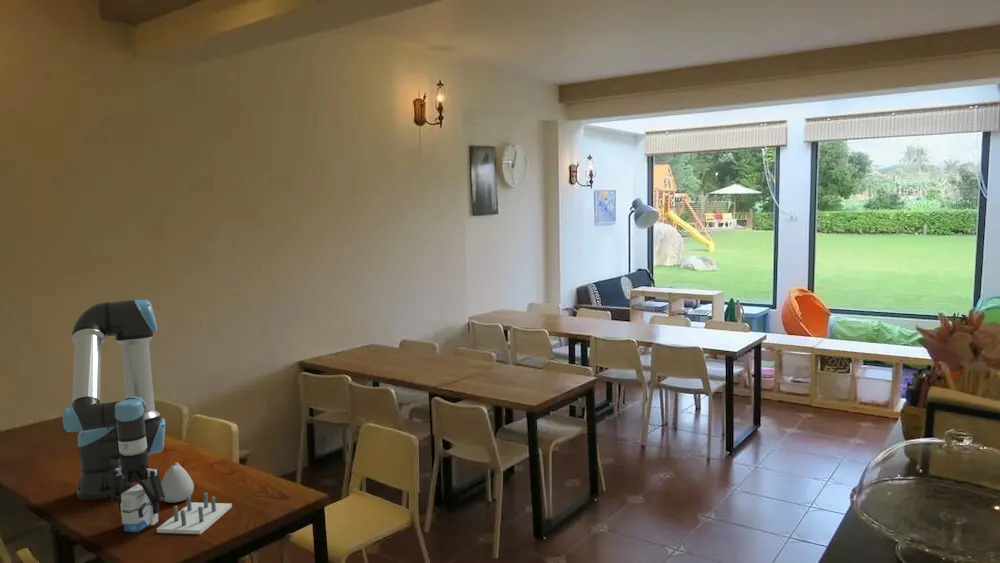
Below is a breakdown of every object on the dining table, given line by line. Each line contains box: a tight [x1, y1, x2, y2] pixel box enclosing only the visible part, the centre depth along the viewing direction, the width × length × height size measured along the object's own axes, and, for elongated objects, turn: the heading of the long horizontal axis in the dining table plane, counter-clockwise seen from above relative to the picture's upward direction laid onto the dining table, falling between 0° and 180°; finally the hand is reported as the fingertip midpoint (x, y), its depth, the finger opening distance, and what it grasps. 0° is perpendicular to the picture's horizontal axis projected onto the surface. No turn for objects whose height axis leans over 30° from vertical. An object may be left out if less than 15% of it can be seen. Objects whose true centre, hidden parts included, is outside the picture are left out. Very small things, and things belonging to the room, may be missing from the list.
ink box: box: [121, 483, 151, 533], centre depth 211 cm, size 8×5×12 cm, turn 168°
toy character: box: [160, 461, 195, 504], centre depth 229 cm, size 10×10×12 cm
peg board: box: [156, 492, 233, 535], centre depth 214 cm, size 14×18×6 cm
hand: (140, 522), depth 211 cm, fingers open, 9 cm apart
